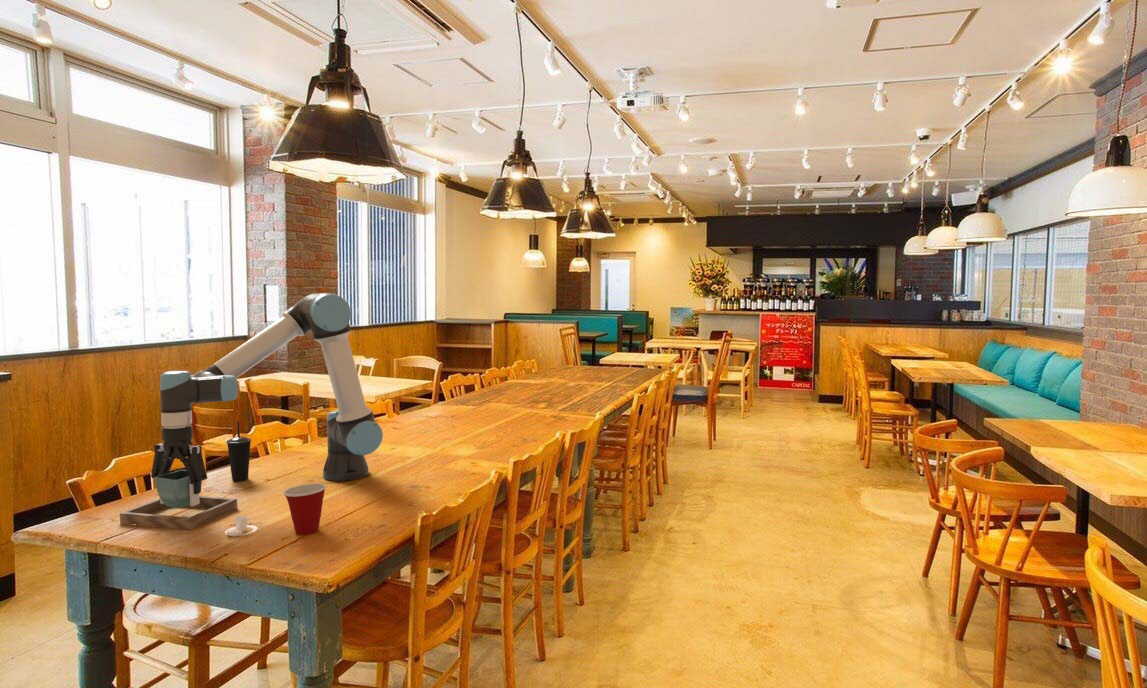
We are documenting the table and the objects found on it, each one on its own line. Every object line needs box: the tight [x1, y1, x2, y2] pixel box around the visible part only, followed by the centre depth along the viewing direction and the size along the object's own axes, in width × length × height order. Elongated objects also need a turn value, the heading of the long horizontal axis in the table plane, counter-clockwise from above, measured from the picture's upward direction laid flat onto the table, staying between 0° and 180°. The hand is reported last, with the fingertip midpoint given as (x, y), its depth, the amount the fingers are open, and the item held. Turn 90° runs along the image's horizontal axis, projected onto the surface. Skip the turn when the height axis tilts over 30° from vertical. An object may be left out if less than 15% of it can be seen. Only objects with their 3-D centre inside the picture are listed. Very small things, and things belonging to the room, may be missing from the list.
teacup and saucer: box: [224, 515, 259, 537], centre depth 181 cm, size 9×8×4 cm
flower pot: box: [154, 469, 203, 509], centre depth 192 cm, size 9×9×9 cm
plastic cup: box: [283, 482, 327, 536], centre depth 181 cm, size 11×11×12 cm
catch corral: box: [119, 495, 238, 531], centre depth 193 cm, size 22×18×3 cm
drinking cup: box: [226, 421, 252, 483], centre depth 229 cm, size 8×8×20 cm
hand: (180, 503), depth 192 cm, fingers closed on flower pot, 9 cm apart
